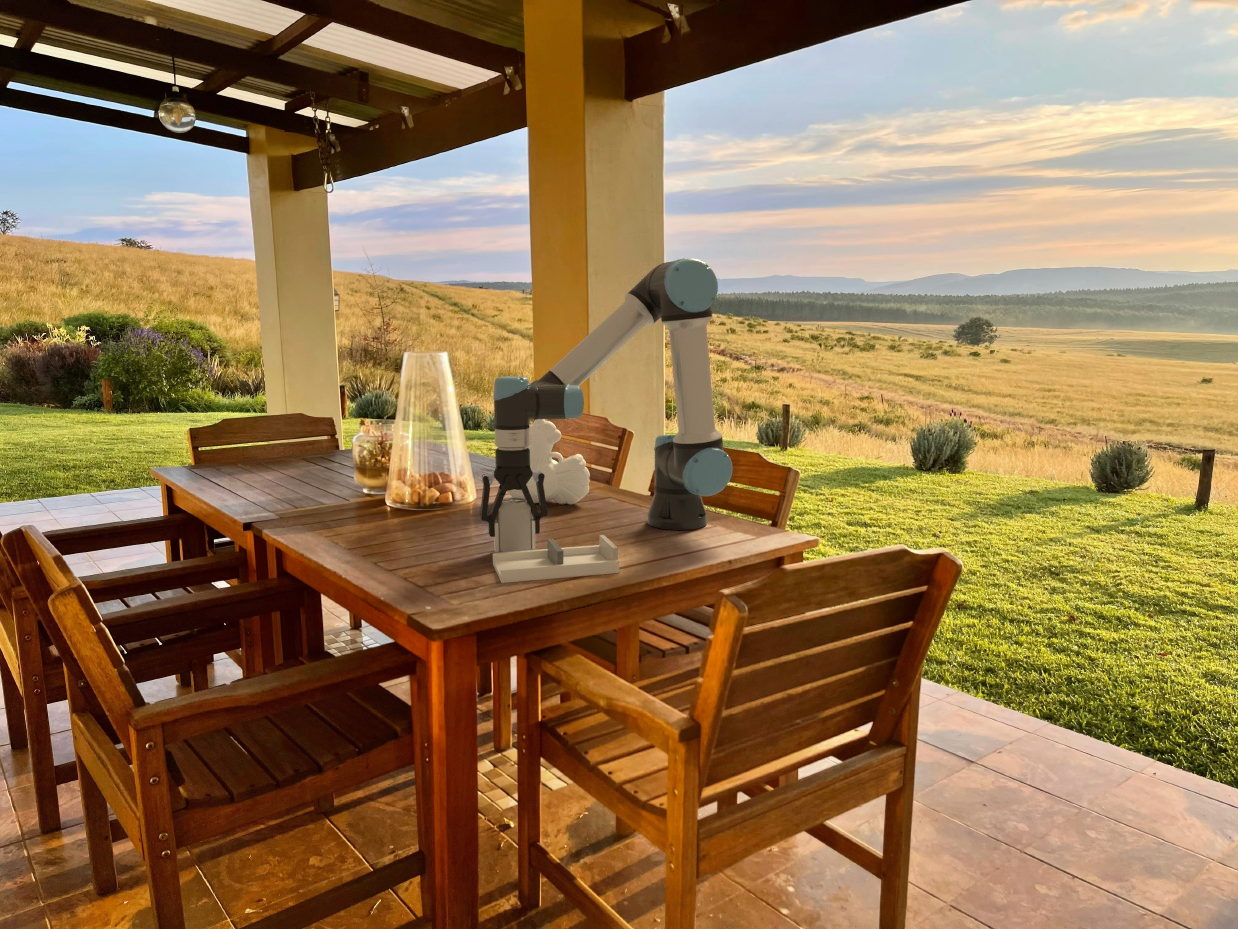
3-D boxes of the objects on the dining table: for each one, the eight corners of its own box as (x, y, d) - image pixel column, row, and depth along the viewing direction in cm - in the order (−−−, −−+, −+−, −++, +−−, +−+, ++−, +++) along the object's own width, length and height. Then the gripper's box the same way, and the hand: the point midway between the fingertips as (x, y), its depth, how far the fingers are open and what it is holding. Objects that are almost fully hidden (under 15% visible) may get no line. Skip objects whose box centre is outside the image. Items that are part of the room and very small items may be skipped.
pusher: (553, 556, 173) (552, 538, 172) (563, 570, 163) (563, 551, 163) (547, 556, 173) (547, 538, 172) (557, 570, 163) (557, 551, 162)
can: (525, 557, 176) (524, 503, 174) (493, 555, 178) (491, 502, 176) (536, 548, 184) (535, 496, 182) (504, 546, 185) (503, 495, 183)
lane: (602, 555, 178) (602, 533, 177) (619, 572, 165) (619, 549, 164) (492, 564, 171) (492, 541, 170) (501, 582, 159) (500, 558, 158)
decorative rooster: (483, 479, 230) (514, 416, 216) (518, 461, 243) (550, 400, 228) (545, 538, 225) (581, 477, 210) (578, 517, 237) (614, 458, 223)
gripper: (467, 452, 170) (470, 557, 174) (561, 448, 176) (562, 550, 180) (463, 447, 178) (467, 548, 181) (554, 443, 183) (556, 541, 187)
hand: (514, 549), depth 181 cm, fingers closed on can, 7 cm apart
